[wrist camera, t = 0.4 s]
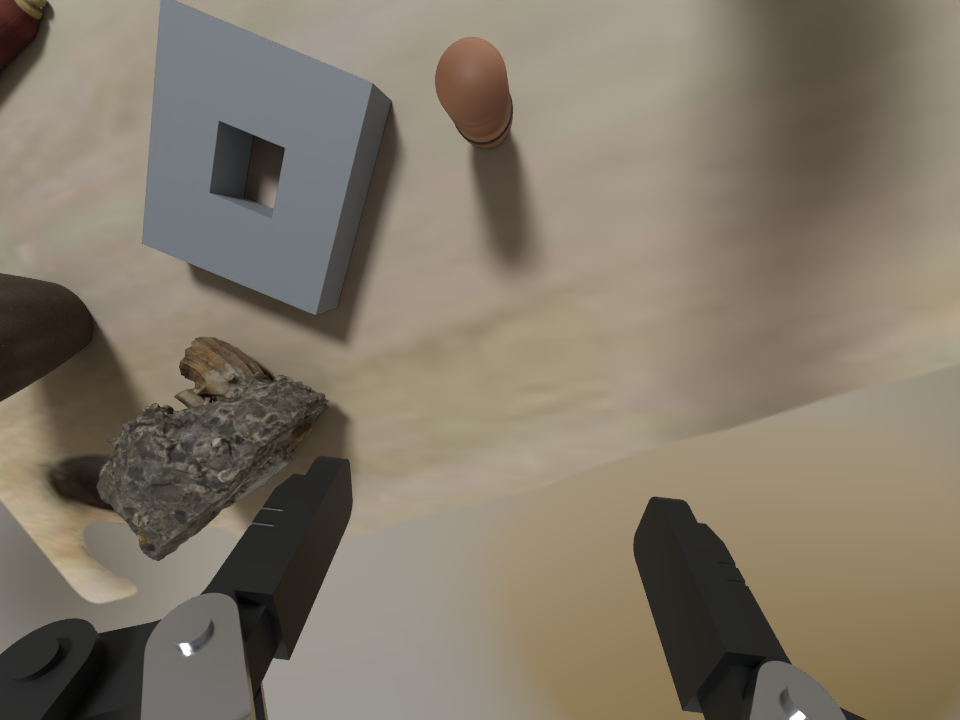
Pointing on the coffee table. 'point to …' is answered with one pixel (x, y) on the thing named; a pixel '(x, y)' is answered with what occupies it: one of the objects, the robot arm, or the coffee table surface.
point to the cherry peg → (475, 91)
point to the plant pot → (37, 330)
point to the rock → (205, 446)
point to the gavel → (17, 26)
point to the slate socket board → (226, 154)
